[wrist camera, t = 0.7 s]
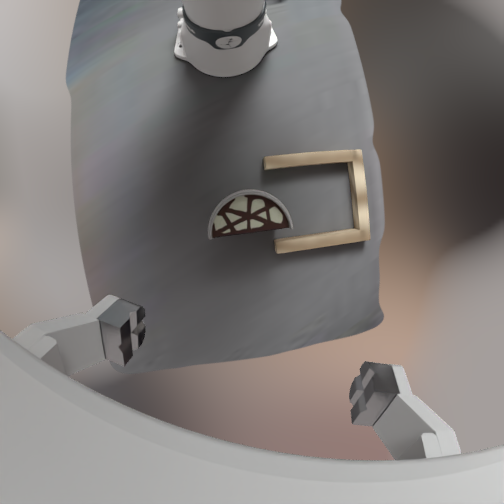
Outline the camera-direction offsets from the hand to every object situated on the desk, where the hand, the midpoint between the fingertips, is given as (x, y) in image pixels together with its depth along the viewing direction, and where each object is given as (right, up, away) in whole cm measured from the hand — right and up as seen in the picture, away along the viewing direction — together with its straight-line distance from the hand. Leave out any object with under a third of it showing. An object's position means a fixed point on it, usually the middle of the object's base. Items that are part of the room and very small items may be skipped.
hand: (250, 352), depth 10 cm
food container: (-1, +11, +39) cm, 40 cm away
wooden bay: (+11, +13, +39) cm, 43 cm away
